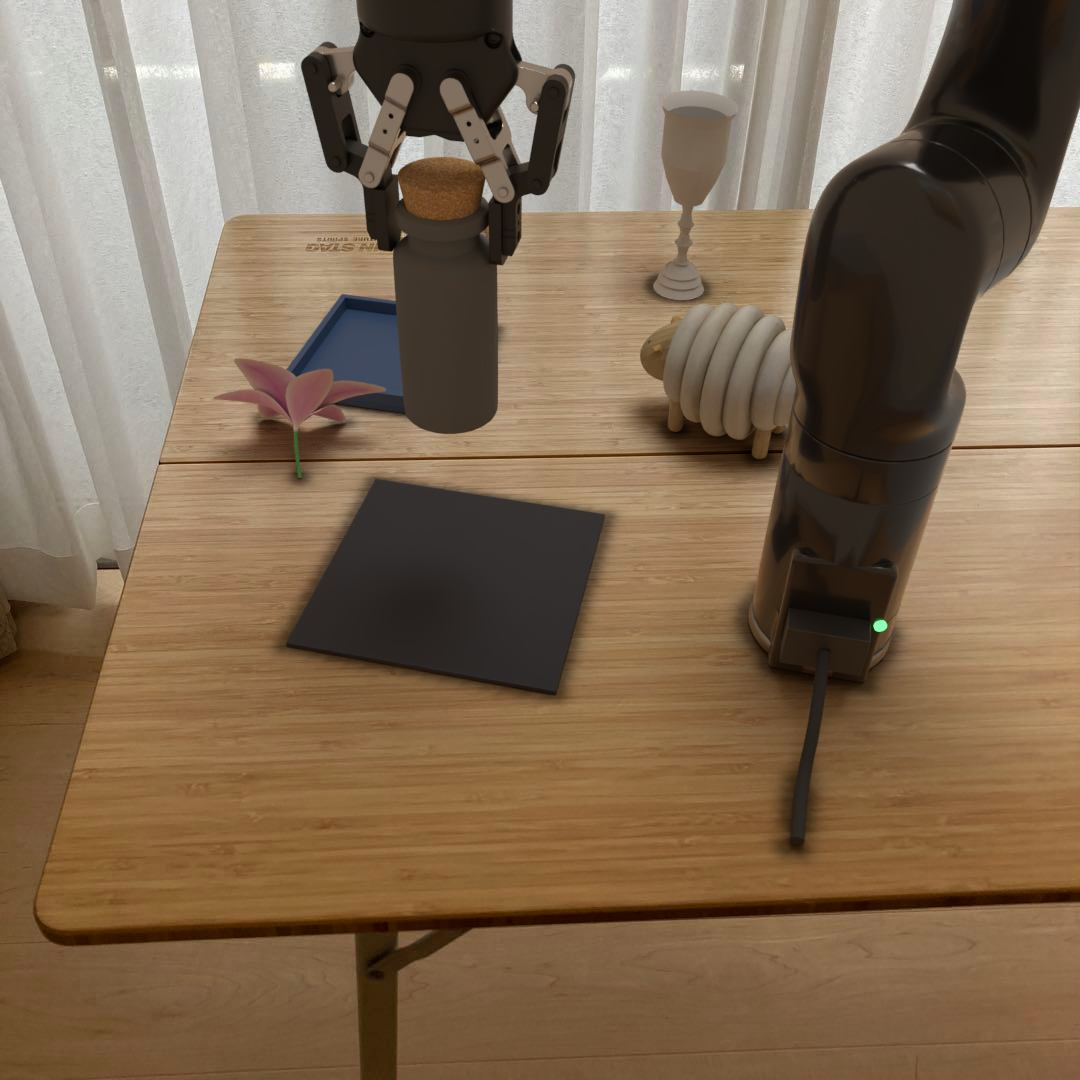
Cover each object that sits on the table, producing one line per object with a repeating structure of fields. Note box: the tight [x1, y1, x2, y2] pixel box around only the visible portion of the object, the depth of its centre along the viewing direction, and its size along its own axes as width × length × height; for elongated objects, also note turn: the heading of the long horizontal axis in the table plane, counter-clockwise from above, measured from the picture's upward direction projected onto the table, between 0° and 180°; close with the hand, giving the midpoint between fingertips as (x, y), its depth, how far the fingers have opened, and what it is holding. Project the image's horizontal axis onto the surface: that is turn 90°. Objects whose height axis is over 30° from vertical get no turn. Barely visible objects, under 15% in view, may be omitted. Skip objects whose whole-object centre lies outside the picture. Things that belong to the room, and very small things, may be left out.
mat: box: [285, 478, 606, 695], centre depth 78 cm, size 18×18×1 cm
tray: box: [285, 293, 406, 414], centre depth 99 cm, size 15×15×2 cm
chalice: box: [652, 90, 739, 301], centre depth 105 cm, size 7×7×18 cm
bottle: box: [392, 156, 499, 435], centre depth 64 cm, size 6×6×15 cm
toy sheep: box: [639, 302, 796, 460], centre depth 88 cm, size 11×17×11 cm, turn 65°
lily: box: [212, 357, 387, 479], centre depth 86 cm, size 12×12×10 cm
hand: (445, 251), depth 62 cm, fingers closed on bottle, 5 cm apart
